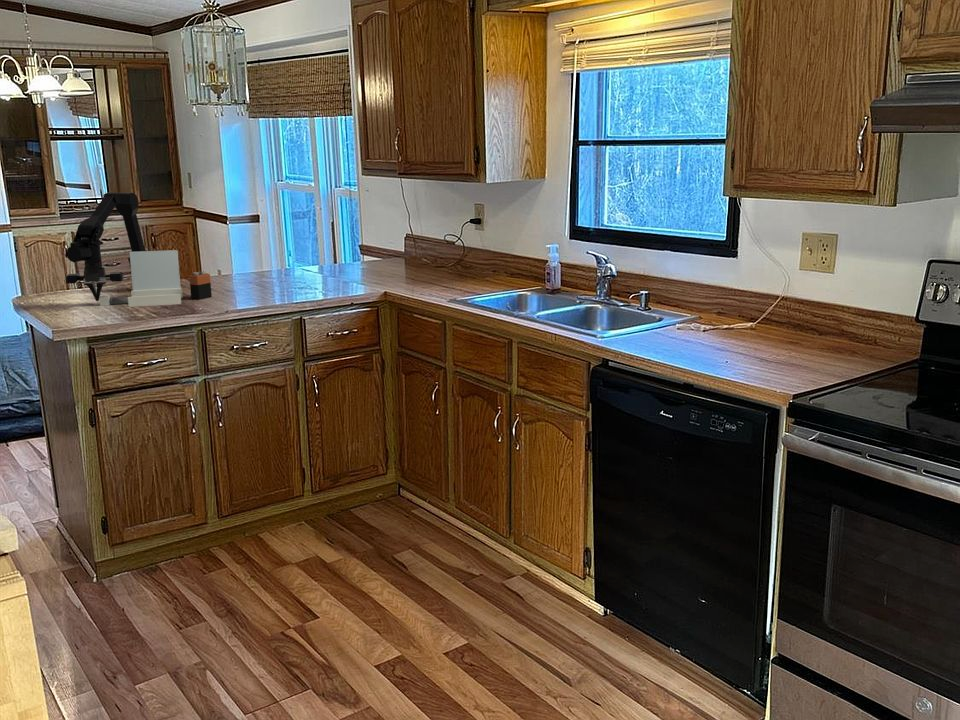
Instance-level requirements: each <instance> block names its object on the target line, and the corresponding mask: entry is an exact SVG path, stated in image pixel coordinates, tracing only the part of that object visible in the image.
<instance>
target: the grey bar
mask: <svg viewBox="0 0 960 720" xmlns="http://www.w3.org/2000/svg"><path fill="white" fill-rule="evenodd" d="M128 297H129V296H127V297H126V296H125V297H124V296H123V297H110V295H100V297H99V305H100V307H101V306H102V307H103V306H110V305H129V304H128Z"/></svg>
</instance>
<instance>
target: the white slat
mask: <svg viewBox="0 0 960 720" xmlns="http://www.w3.org/2000/svg"><path fill="white" fill-rule="evenodd" d="M130 292H131V296H127V297H128V304H127V305H128V307H129V308H130V307H131V308H132V307H133V308H134V307H151V306H152V307H154V306H169V305H170V306H171V305H182V299H183V287H180V288H175V289H155V290H134V291H133V290H131V291H130Z"/></svg>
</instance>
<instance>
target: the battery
mask: <svg viewBox="0 0 960 720" xmlns="http://www.w3.org/2000/svg"><path fill="white" fill-rule="evenodd" d="M188 278H189V289H190V299H191V300H204V299H209V298H211V297H212V285H211V283H212V282H211V274H210V273H206V272H205V271H200V272H198V271H197V272H193V273H192V274H190V275H189V277H188Z"/></svg>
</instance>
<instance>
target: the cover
mask: <svg viewBox="0 0 960 720" xmlns="http://www.w3.org/2000/svg"><path fill="white" fill-rule="evenodd" d="M129 257H130V263H131V267H130V272H131V273H130V274H131V284H132V286H131V287H132V291H134V290H155V289H175V288H181V277H180V265H179V263H180V262H179V253H178V249H171V250H169V249H168V250H149V251H148V250H146V251H139V252H132V251H129Z"/></svg>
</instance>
